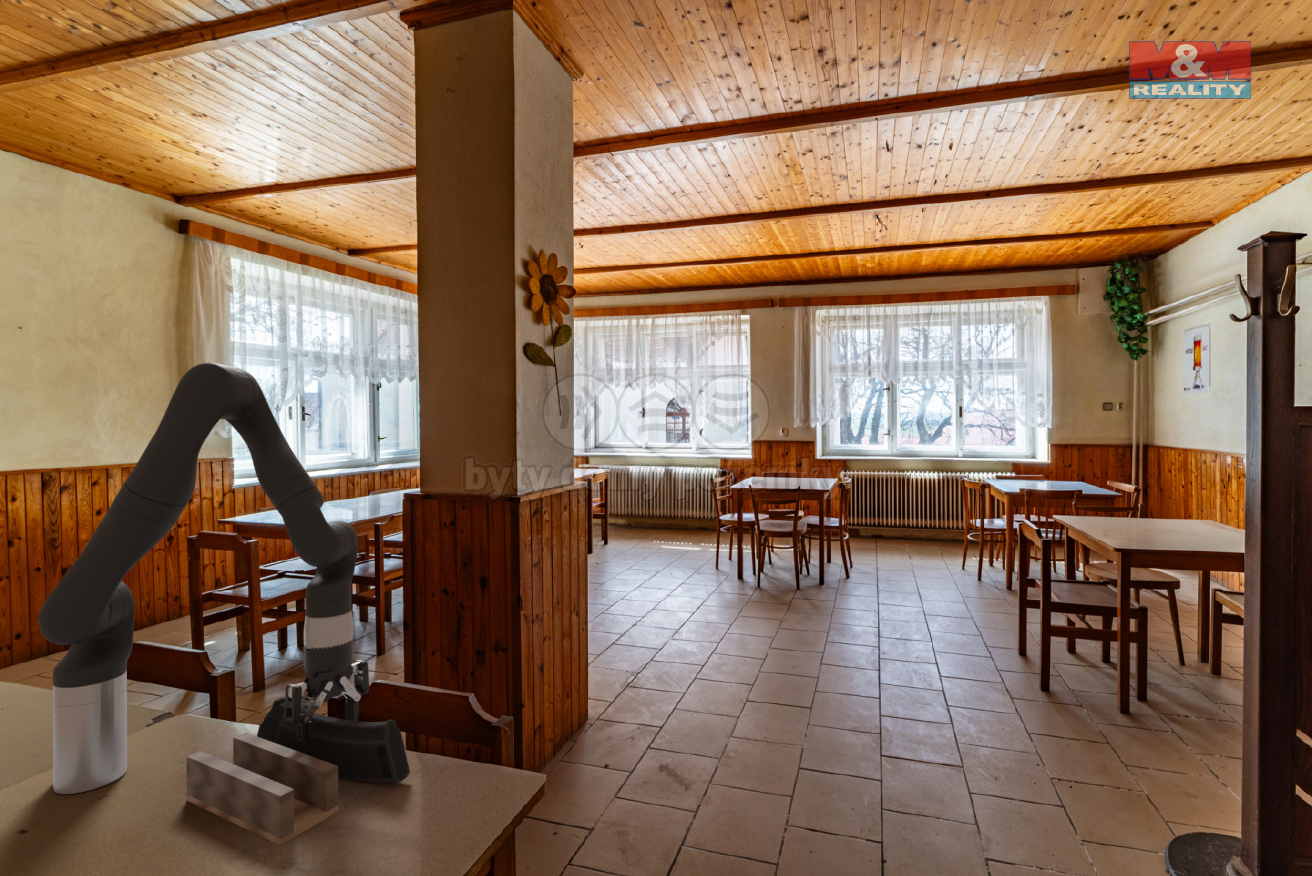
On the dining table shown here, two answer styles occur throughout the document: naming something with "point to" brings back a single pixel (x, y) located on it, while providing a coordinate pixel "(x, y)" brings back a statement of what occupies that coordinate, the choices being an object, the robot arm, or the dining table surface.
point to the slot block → (264, 788)
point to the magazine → (344, 744)
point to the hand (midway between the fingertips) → (329, 732)
